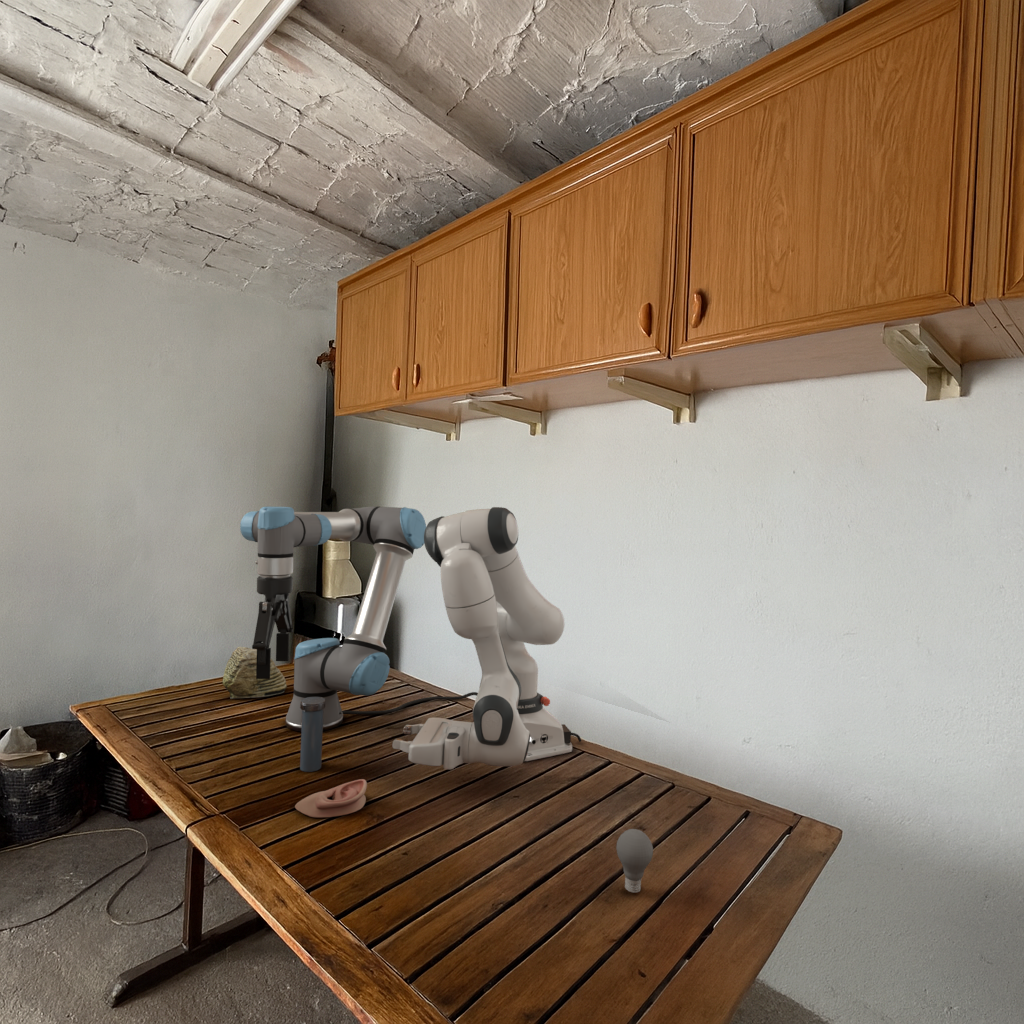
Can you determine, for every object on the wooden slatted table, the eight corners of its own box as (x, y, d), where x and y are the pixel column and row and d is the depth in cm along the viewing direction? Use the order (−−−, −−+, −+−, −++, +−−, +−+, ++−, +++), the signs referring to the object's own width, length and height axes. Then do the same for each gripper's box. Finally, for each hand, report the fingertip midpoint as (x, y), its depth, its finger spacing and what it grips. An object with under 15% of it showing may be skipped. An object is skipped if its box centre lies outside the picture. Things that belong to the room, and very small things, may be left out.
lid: (298, 705, 149) (299, 697, 149) (323, 702, 151) (323, 695, 151) (301, 712, 144) (302, 705, 144) (327, 710, 146) (327, 702, 146)
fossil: (218, 695, 195) (220, 647, 195) (278, 685, 208) (279, 640, 207) (228, 703, 189) (230, 653, 188) (289, 692, 201) (290, 645, 201)
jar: (298, 764, 149) (301, 700, 149) (319, 762, 151) (322, 698, 151) (301, 773, 145) (303, 706, 144) (322, 770, 147) (325, 704, 146)
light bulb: (610, 879, 108) (613, 822, 108) (644, 879, 109) (647, 822, 109) (619, 902, 102) (622, 840, 102) (655, 901, 103) (658, 840, 103)
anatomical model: (287, 793, 126) (316, 770, 137) (286, 813, 126) (315, 788, 137) (349, 803, 123) (373, 778, 134) (348, 823, 123) (373, 796, 134)
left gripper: (275, 567, 154) (273, 654, 155) (237, 583, 129) (235, 686, 130) (306, 568, 154) (304, 654, 155) (274, 584, 130) (272, 686, 130)
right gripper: (466, 713, 155) (410, 708, 156) (451, 743, 134) (387, 737, 135) (464, 739, 155) (409, 734, 156) (449, 773, 134) (385, 767, 135)
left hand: (273, 669), depth 143 cm, fingers open, 13 cm apart
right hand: (398, 736), depth 145 cm, fingers open, 8 cm apart
